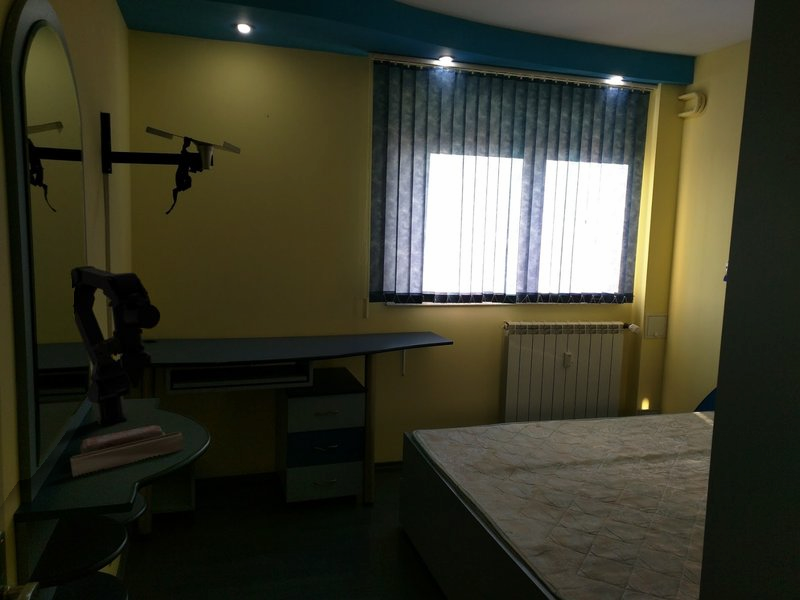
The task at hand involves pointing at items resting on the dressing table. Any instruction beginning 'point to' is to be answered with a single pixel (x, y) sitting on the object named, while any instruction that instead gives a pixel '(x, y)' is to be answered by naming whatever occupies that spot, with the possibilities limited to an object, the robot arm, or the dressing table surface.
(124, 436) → the packaged product
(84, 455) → the oak rail
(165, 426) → the dressing table surface
